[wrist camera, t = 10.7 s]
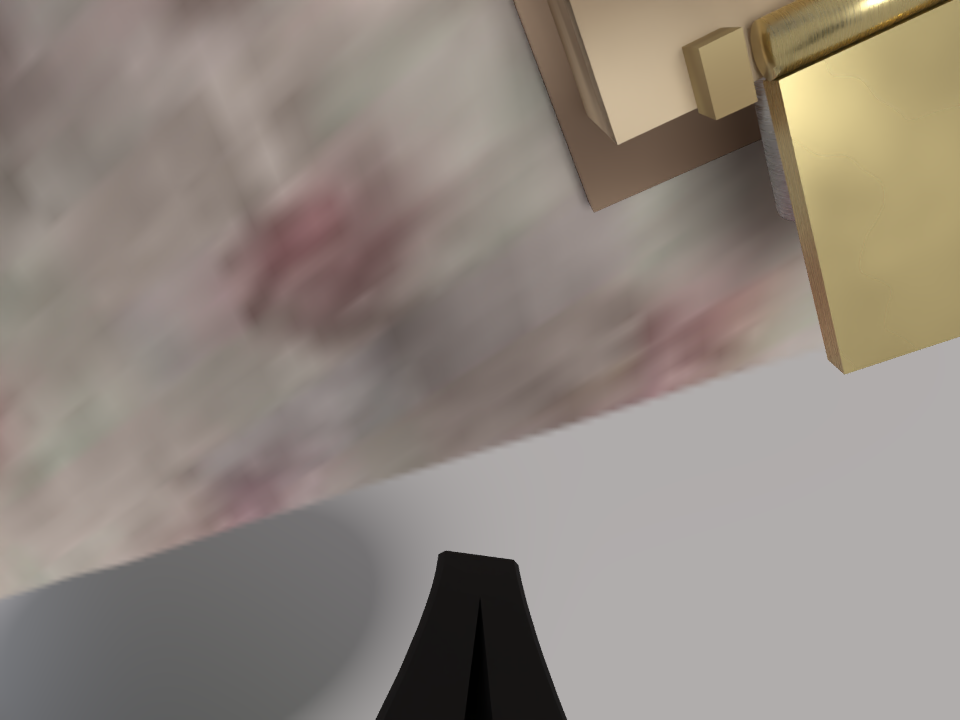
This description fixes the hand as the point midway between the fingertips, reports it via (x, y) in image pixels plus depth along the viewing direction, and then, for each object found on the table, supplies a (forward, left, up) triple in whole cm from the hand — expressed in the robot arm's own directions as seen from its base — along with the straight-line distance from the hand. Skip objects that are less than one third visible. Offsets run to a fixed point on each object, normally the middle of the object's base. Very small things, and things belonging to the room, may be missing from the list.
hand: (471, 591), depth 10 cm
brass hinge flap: (+1, +10, -5) cm, 11 cm away
